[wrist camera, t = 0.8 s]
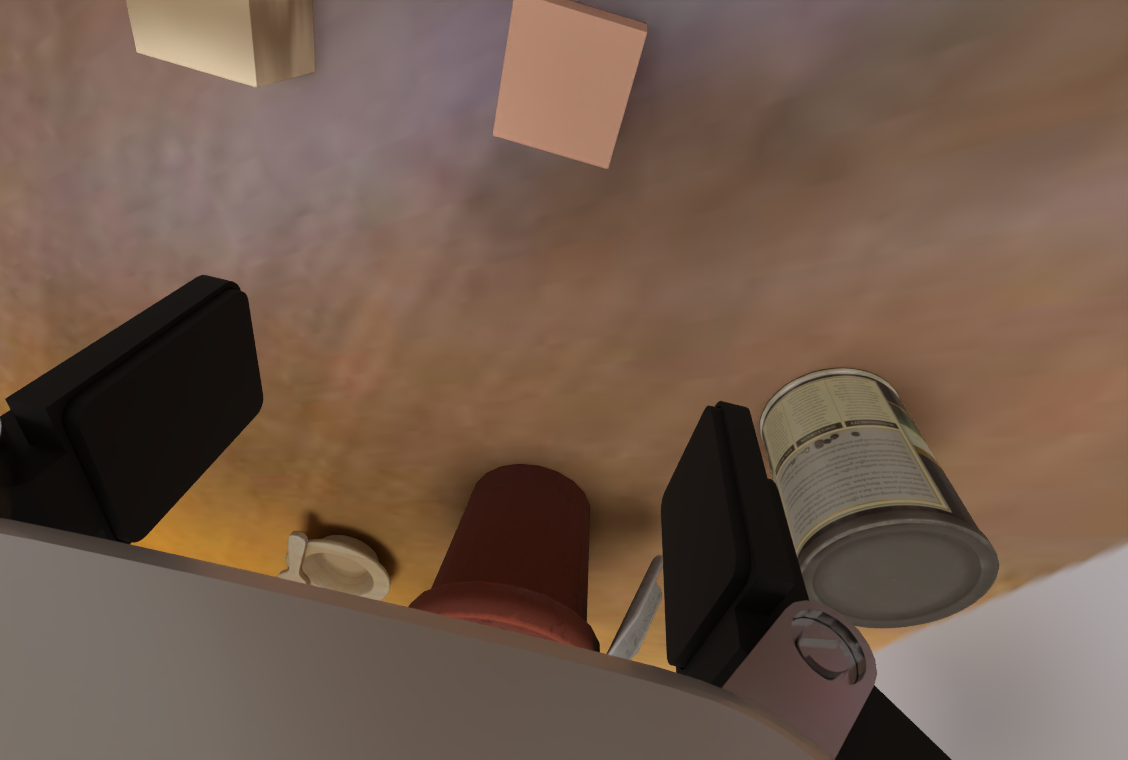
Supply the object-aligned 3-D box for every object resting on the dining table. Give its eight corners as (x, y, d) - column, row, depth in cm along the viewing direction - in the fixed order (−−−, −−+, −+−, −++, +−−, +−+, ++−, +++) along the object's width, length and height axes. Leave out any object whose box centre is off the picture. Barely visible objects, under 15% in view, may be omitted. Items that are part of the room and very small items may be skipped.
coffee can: (933, 395, 39) (1048, 560, 28) (843, 482, 46) (907, 646, 34) (809, 346, 38) (877, 497, 27) (733, 442, 44) (763, 598, 33)
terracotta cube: (536, -10, 28) (514, -9, 23) (647, 23, 28) (647, 32, 24) (515, 112, 32) (492, 135, 27) (613, 141, 32) (607, 169, 27)
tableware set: (244, 610, 73) (225, 639, 70) (274, 487, 56) (251, 518, 53) (479, 693, 80) (472, 724, 76) (570, 606, 63) (566, 640, 59)
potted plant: (494, 408, 45) (375, 741, 26) (708, 507, 49) (750, 863, 29) (429, 520, 56) (308, 821, 36) (611, 595, 60) (593, 904, 40)
